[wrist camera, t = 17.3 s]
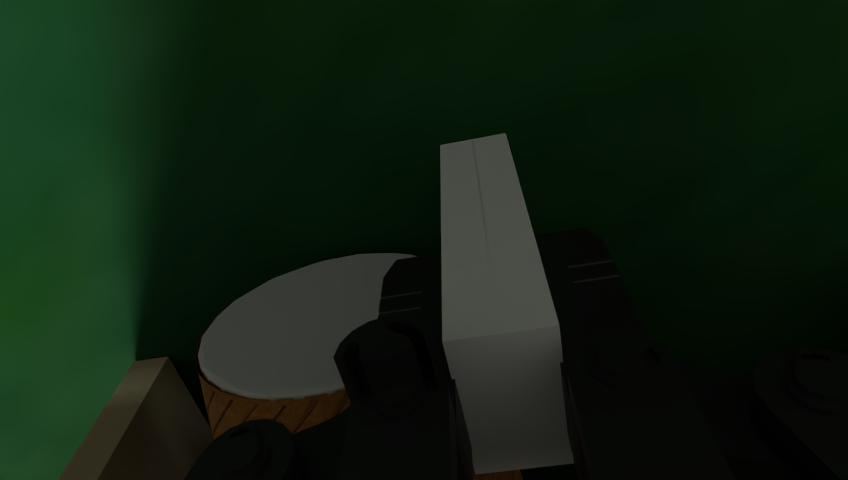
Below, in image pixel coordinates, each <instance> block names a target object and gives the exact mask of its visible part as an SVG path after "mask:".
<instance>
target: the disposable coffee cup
mask: <svg viewBox="0 0 848 480" xmlns="http://www.w3.org/2000/svg"><path fill="white" fill-rule="evenodd" d="M416 256H417V255H411V254H399V253H372V254H356V255H351V256H346V257H340V258H335V259H330V260H324V261H321V262H318V263H314V264H311V265H308V266H305V267H302V268H299V269H297V270H294V271H291V272H289V273H286V274H283V275H281V276H278V277H275V278H273V279H271V280H269V281H267V282H266V283H264V284H262V285H260V286H258V287H257V288H255V289H253V290H251V291H249V292H247V293H246V294H245V295H243V296H242V297H240V298H238V299H237V300H235V301H234V302H233V303H231V304H230V305H228V306H227V307H226V308H225V309H224V310H223V311H222V312H221V313H220V314H218V315H217V316H216V317H215V318H214V319H213V320H212V321H211V323H210V324H209V325H208V327H207V328H206V329H205V330H204V332H203V333H202V335H201V337H200V339H199V342H198V344H197V346H196V351H195V364H196V367H197V371H198V375H199V379H200V383H201V387H202V391H203V396H204V401H205V405H206V410H207V414H208V417H209V422H210V427H211V431H212V436H213V438H214V439H216V438H217V437H218V436H220V435H221V434H223V433H224V432H226V431H227V430H228V429H230V428H231V427H234V426H236V425H239V424H242V423H244V422H247V421H249V420H258V419H271V420H274V421H277V422H281V423H283V424H284V425H285V426H286V428H287V429H288V430H289V431H290V432H291V433H292V434H295V433H297V432H300V431H302V430H305V429H307V428H310V427H312V426H315V425H317V424H319V423H322V422H324V421H326V420H328V419H330V418H332V417H334V416H336V415H338V414H340V413H341V412H342V411H344V410H345V409H346V408H348V407H349V406H350V404H351V402H350V399H349V397H348V394H347V392H346V389H345V387H344V384H343V382H342V379H341V376H340V374H339V371H338V369H337V366H336V364H335V361H334V358H333V356H334V354H335V352H336V350H337V348H338V346H339V344H340V342H341V341H342V340H343V339H344V338H345V337H346V336H347V335H348V334H349V333H350V332H351V331H353V330H354V329H356V328H358V327H360V326H361V325H363V324H365V323H367V322H369V321H371V320H375V319H377V318H378V315H379V312H378V311H379V304H380V300H381V290H382V283H383V277H384V276H385V274H386V273H387V272H388V270H389V269H390V268H391V266H392V265H393V263H394V262H395V261H396V260H398V259H404V258H410V257H416ZM473 478H474V480H523V478H522V475H521V472H520V470H511V471H502V472H493V473H484V474H475V471H474V467H473Z"/></svg>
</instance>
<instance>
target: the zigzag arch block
mask: <svg viewBox="0 0 848 480" xmlns="http://www.w3.org/2000/svg"><path fill="white" fill-rule="evenodd" d="M213 440H214V438H213V436H212V431H211V428H210V427H209V425H208V423H207V422H206V420H205V418H204V417H203V415H202V413H201V411H200V410H199V408H198V406H197V405H196V403H195V401H194V399H193V398H192V396H191V394H190V393H189V391H188V389H187V388H186V386H185V384H184V382H183V381H182V379H181V377H180V376H179V374H178V372H177V371H176V369H175V367H174V365H173V364H172V362H171V360H170V359H169V357H161V358H154V359H147V360H140V361H134V363H133V364H132V366H131V367H130V369H129V371H128V372H127V374H126V375H125V377H124V378H123V380H122V381H121V383H120V385H119V386H118V388H117V389H116V391H115V392H114V394H113V395H112V397H111V399H110V400H109V402H108V403H107V405H106V406H105V408H104V409H103V411H102V413H101V414H100V416H99V417H98V419H97V420H96V422H95V423H94V425H93V427H92V428H91V430H90V431H89V433H88V434H87V436H86V437H85V439H84V441H83V442H82V444H81V445H80V447H79V448H78V450H77V452H76V453H75V455H74V456H73V458H72V459H71V461H70V462H69V464H68V466H67V467H66V469H65V470H64V472H63V473H62V475H61V476H60V478H59V480H184V478H185V477H186V475H187V474H188V472H189V471H190V469H191V468H192V466H193V465H194V463H195V462H196V460H197V459H198V457H199V456H200V455H201V454H202V453H203V451H204V450H205V449H206V448H207V447H208V446H209V444H210V443H211V442H212V441H213Z"/></svg>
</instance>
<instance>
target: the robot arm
mask: <svg viewBox="0 0 848 480" xmlns="http://www.w3.org/2000/svg"><path fill="white" fill-rule="evenodd" d="M440 172H441V253H435V254H429V255H423V256H416V257H410V258H404V259H398V260H396V261H395V262H394V263H393V265H392V266H391V268H390V269H389V270H388V272H387V273H386V274H385V276H384V277H383V283H382V290H381V300H380V304H379V311H378V312H379V315H378V318H377V319H375V320H371V321H369V322H367V323H365V324H363V325H361V326H360V327H358V328H356V329H354V330H353V331H351V332H350V333H349V334H348V335H347V336H346V337H345V338H344V339H343V340H342V341H341V342H340V344H339V346H338V348H337V350H336V352H335V354H334V356H333V358H334V361H335V364H336V366H337V369H338V371H339V374H340V376H341V379H342V382H343V384H344V387H345V389H346V392H347V394H348V397H349V399H350V402H351V404H350V406H349V407H348V408H346V409H345V410H344V411H342V412H341V413H340V414H338V415H336V416H334V417H332V418H330V419H328V420H326V421H324V422H322V423H319V424H317V425H315V426H312V427H310V428H307V429H305V430H302V431H300V432H297V433H295V434H292V433H291V432H290V431H289V430H288V429H287V428H286V426H285V425H284V424H283V423H281V422H277V421H274V420H271V419H258V420H249V421H247V422H244V423H242V424H239V425H236V426H234V427H231V428H230V429H228V430H227V431H226V432H224V433H223V434H221V435H220V436H218V437H217V438H216V439H214V440H213V441H212V442H211V443H210V444H209V446H208V447H207V448H206V449H205V450H204V451H203V453H202V454H201V455H200V456H199V457H198V459H197V460H196V462H195V463H194V465H193V466H192V468H191V469H190V471H189V472H188V474H187V475H186V477H185V478H184V480H474V478H473V467H474V471H475V474H484V473H493V472H502V471H511V470H520V469H529V468H538V467H547V466H556V465H565V464H573V463H574V462H575V466H576V471H577V475H578V480H848V355H845V354H842V353H838V352H835V351H832V350H829V349H825V348H814V347H803V346H798V347H791V348H785V349H779V350H776V351H774V352H772V353H771V354H769V355H767V356H765V357H763V358H762V359H761V360H760V361H759V363H758V365H757V367H756V368H755V370H754V372H753V374H750V373H741V372H732V371H722V370H713V369H708V368H702V367H697V366H693V365H691V364H688V363H685V362H682V361H679V360H677V359H675V358H674V357H673V356H672V355H671V354H670V352H669V351H668V350H667V349H666V348H665V346H663V345H662V344H660V343H658V342H656V341H655V340H653V339H651V338H650V336H649V335H648V333H647V331H646V329H645V327H644V325H643V323H642V320H641V318H640V316H639V314H638V312H637V310H636V308H635V306H634V304H633V301H632V299H631V297H630V295H629V293H628V291H627V289H626V287H625V285H624V282H623V280H622V278H621V277H620V276H619V272H618V270H617V268H616V266H615V263H614V262H613V261H612V257H611V255H610V253H609V251H608V249H607V247H606V244H605V242H604V240H602V239H601V238H599V237H598V236H596V235H595V234H594V233H592V232H591V231H589V230H588V229H587V228H585V227H584V228H578V229H571V230H565V231H559V232H553V233H547V234H541V235H534V233H533V229H532V226H531V222H530V218H529V215H528V211H527V208H526V204H525V201H524V197H523V193H522V190H521V186H520V183H519V179H518V175H517V172H516V168H515V165H514V161H513V158H512V154H511V150H510V147H509V143H508V140H507V136H506V133H503V134H497V135H492V136H487V137H481V138H476V139H470V140H465V141H460V142H454V143H449V144H443V145H440ZM573 458H574V459H573Z"/></svg>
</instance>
